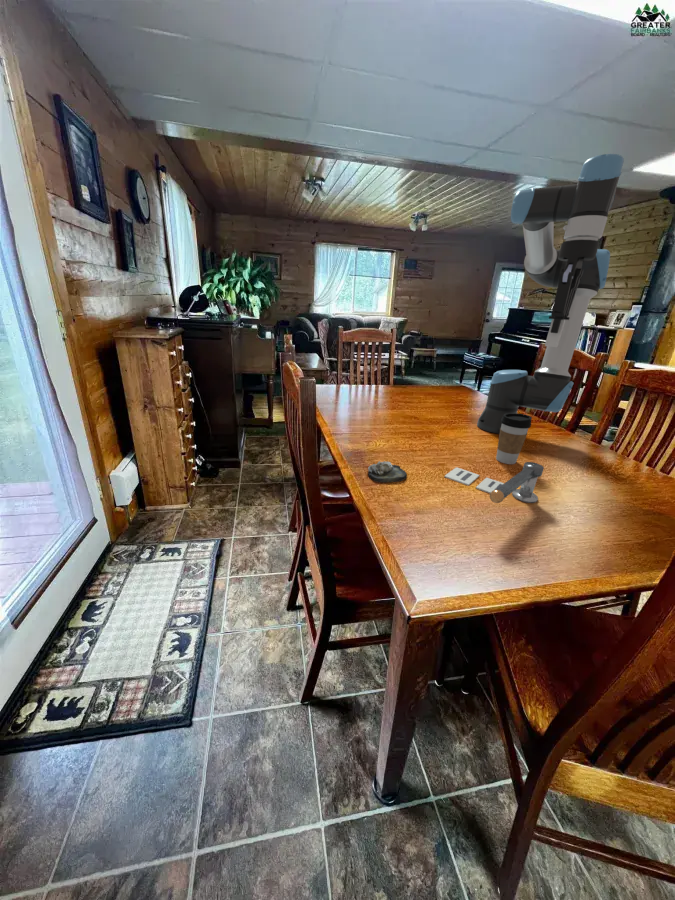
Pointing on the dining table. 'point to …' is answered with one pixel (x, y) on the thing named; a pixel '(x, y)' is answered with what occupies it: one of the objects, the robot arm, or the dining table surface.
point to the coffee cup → (512, 436)
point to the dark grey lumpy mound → (386, 472)
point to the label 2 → (489, 485)
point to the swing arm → (516, 481)
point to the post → (526, 491)
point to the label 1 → (462, 476)
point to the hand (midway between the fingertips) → (551, 346)
